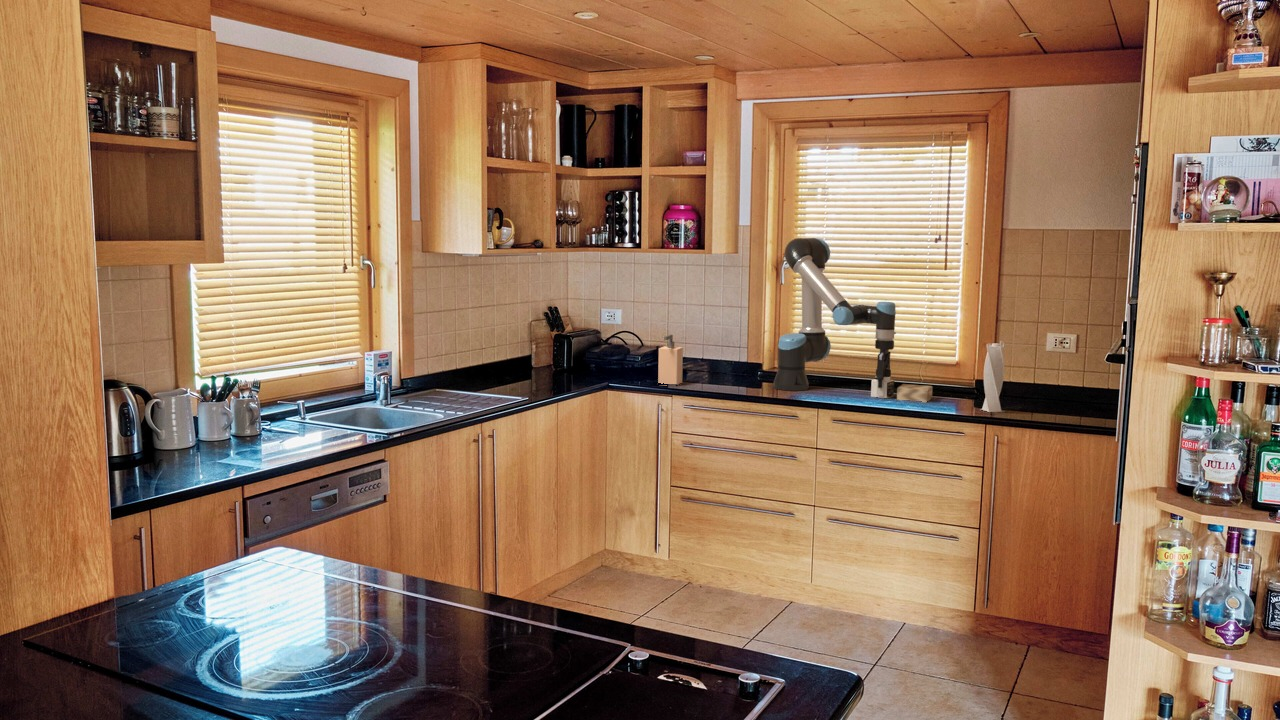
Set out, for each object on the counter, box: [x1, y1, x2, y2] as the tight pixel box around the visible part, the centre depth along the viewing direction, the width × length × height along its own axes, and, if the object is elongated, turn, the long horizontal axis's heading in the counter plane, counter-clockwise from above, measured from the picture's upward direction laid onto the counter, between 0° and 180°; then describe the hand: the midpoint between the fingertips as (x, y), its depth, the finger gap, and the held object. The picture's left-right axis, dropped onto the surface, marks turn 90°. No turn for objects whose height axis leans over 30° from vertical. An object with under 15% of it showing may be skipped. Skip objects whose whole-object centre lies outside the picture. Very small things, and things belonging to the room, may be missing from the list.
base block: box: [896, 383, 934, 403], centre depth 412 cm, size 12×12×5 cm
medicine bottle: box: [870, 368, 895, 399], centre depth 416 cm, size 7×7×12 cm
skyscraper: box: [979, 340, 1006, 413], centre depth 384 cm, size 8×8×28 cm
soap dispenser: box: [657, 334, 684, 384], centre depth 440 cm, size 13×9×22 cm
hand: (882, 393), depth 417 cm, fingers open, 8 cm apart
